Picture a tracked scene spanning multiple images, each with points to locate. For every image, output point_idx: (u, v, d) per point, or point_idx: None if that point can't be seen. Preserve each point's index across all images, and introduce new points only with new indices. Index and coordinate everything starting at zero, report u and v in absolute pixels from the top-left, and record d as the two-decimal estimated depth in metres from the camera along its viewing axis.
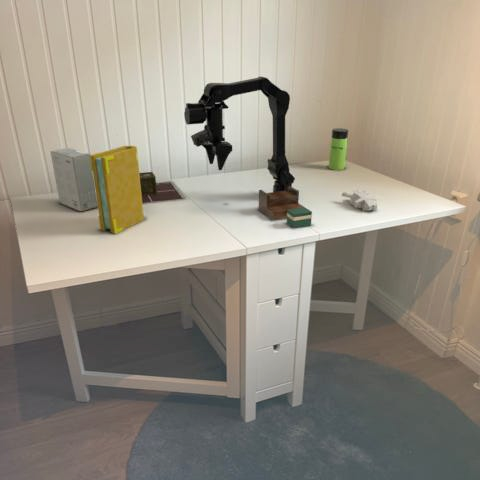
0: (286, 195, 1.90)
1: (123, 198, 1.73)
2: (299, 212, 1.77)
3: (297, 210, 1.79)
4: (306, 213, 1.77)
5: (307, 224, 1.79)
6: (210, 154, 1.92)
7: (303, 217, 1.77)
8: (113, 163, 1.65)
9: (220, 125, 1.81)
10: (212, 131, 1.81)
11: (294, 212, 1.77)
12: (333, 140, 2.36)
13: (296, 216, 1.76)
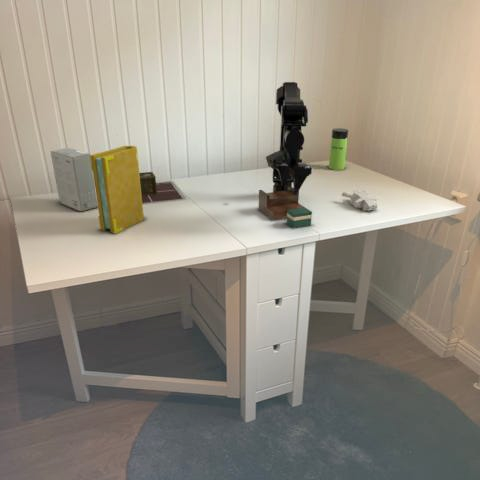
0: (286, 195, 1.90)
1: (123, 198, 1.73)
2: (299, 212, 1.77)
3: (297, 210, 1.79)
4: (306, 213, 1.77)
5: (307, 224, 1.79)
6: (283, 176, 1.79)
7: (303, 217, 1.77)
8: (113, 163, 1.65)
9: None
10: (289, 152, 1.68)
11: (294, 212, 1.77)
12: (333, 140, 2.36)
13: (296, 216, 1.76)
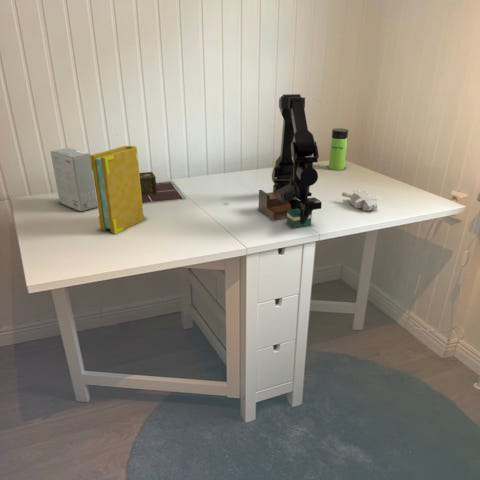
0: None
1: (123, 198, 1.73)
2: (299, 212, 1.77)
3: (297, 210, 1.79)
4: None
5: (307, 224, 1.79)
6: None
7: None
8: (113, 163, 1.65)
9: None
10: (299, 187, 1.71)
11: (294, 212, 1.77)
12: (333, 140, 2.36)
13: (296, 216, 1.76)
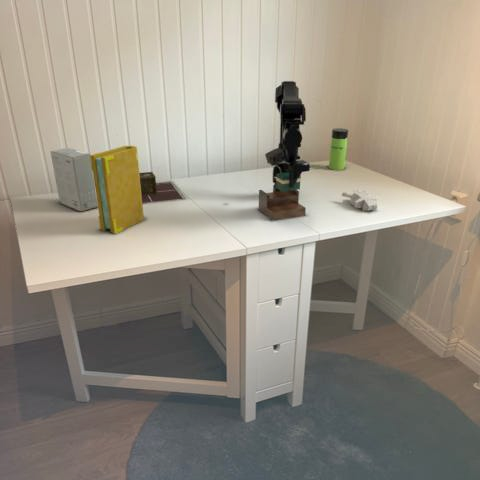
0: (286, 195, 1.90)
1: (123, 198, 1.73)
2: (288, 175, 1.79)
3: (286, 174, 1.81)
4: None
5: (296, 188, 1.82)
6: None
7: None
8: (113, 163, 1.65)
9: None
10: (288, 149, 1.74)
11: (283, 175, 1.79)
12: (333, 140, 2.36)
13: (285, 179, 1.78)
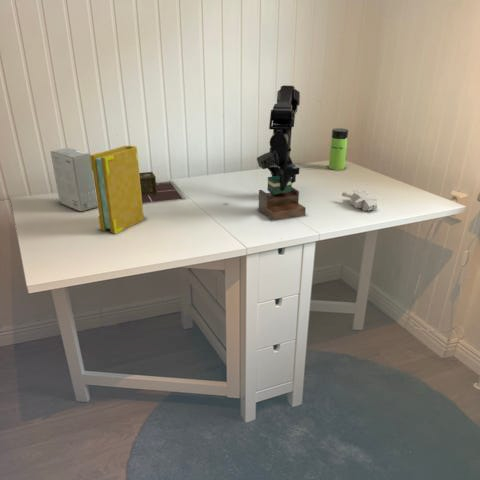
0: (286, 195, 1.90)
1: (123, 198, 1.73)
2: (279, 179, 1.86)
3: (277, 177, 1.88)
4: None
5: (287, 190, 1.88)
6: None
7: None
8: (113, 163, 1.65)
9: (287, 147, 1.80)
10: (279, 153, 1.80)
11: (274, 179, 1.86)
12: (333, 140, 2.36)
13: (276, 182, 1.85)
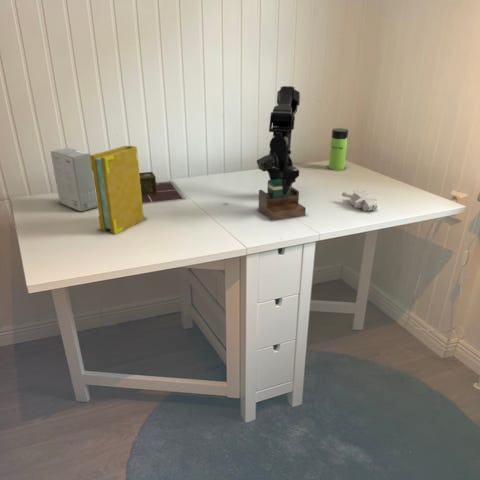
0: None
1: (123, 198, 1.73)
2: (279, 182, 1.86)
3: (277, 180, 1.88)
4: None
5: (286, 194, 1.89)
6: (273, 178, 1.92)
7: (282, 187, 1.87)
8: (113, 163, 1.65)
9: (287, 150, 1.80)
10: (278, 156, 1.81)
11: (274, 182, 1.86)
12: (333, 140, 2.36)
13: (276, 186, 1.86)
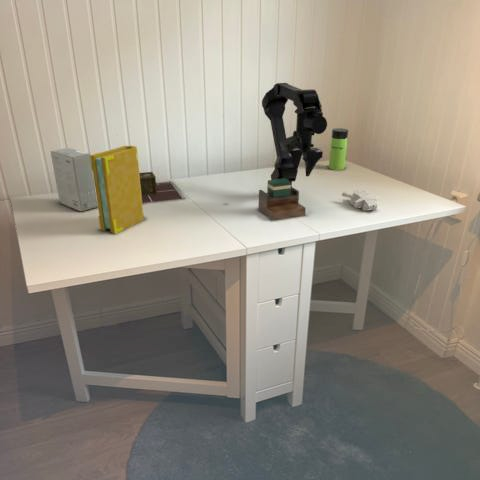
0: None
1: (123, 198, 1.73)
2: (279, 182, 1.86)
3: (277, 180, 1.88)
4: (285, 183, 1.87)
5: (286, 194, 1.89)
6: (296, 160, 1.92)
7: (282, 187, 1.87)
8: (113, 163, 1.65)
9: (310, 131, 1.80)
10: (302, 137, 1.81)
11: (274, 182, 1.86)
12: (333, 140, 2.36)
13: (276, 186, 1.86)
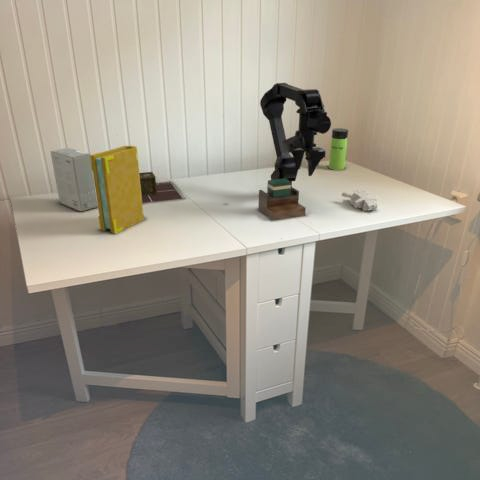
0: None
1: (123, 198, 1.73)
2: (279, 182, 1.86)
3: (277, 180, 1.88)
4: (285, 183, 1.87)
5: (286, 194, 1.89)
6: (298, 160, 1.92)
7: (282, 187, 1.87)
8: (113, 163, 1.65)
9: (313, 131, 1.81)
10: (305, 137, 1.81)
11: (274, 182, 1.86)
12: (333, 140, 2.36)
13: (276, 186, 1.86)
